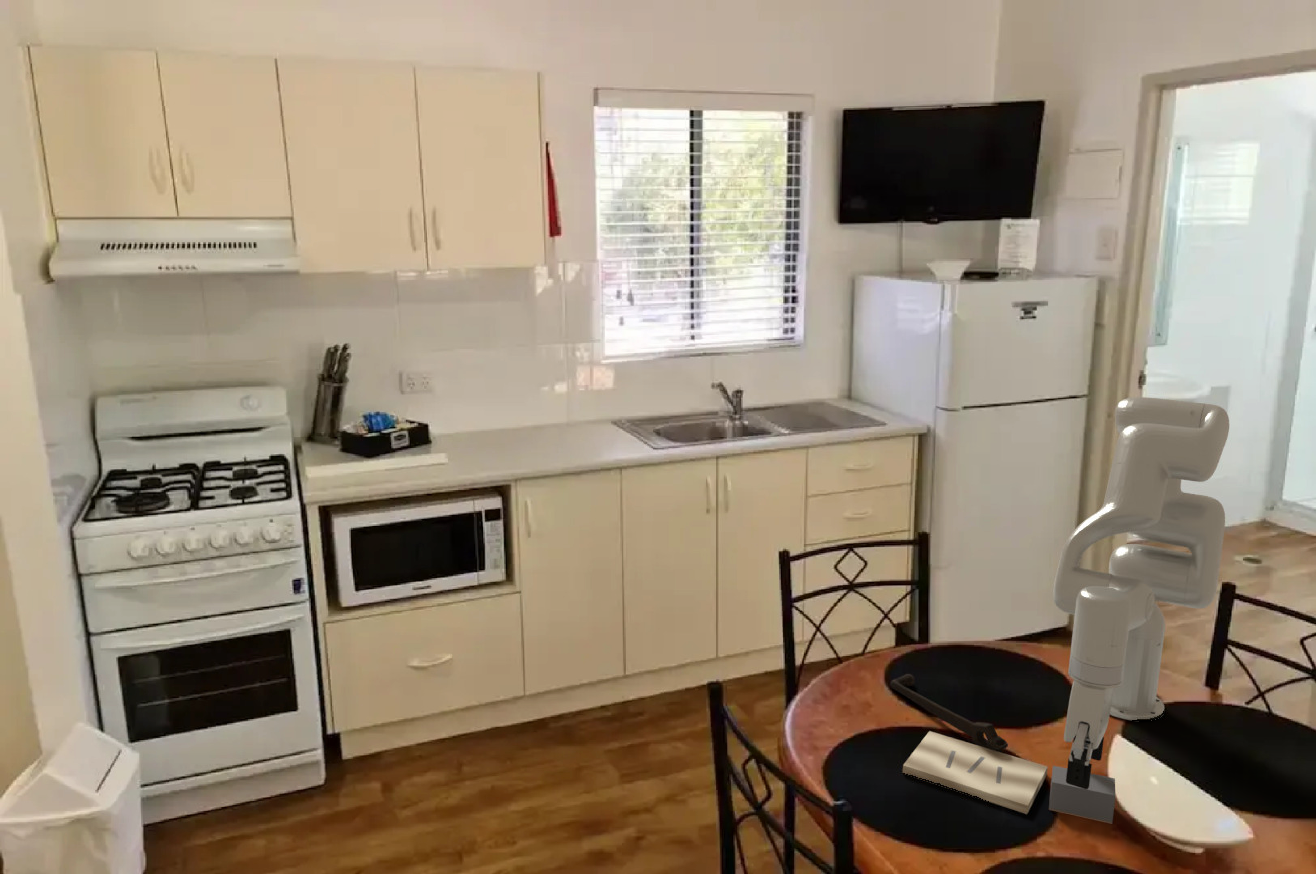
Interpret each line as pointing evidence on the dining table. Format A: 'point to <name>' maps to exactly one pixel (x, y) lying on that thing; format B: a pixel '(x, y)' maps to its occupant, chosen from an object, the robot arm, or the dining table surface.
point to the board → (977, 771)
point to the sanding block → (1083, 796)
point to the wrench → (952, 716)
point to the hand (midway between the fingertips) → (1083, 771)
